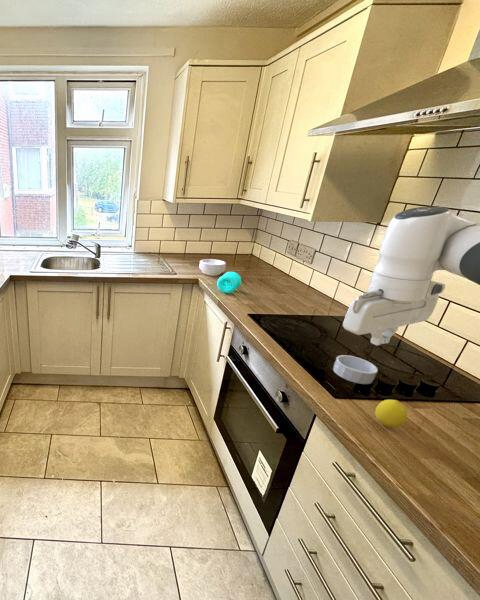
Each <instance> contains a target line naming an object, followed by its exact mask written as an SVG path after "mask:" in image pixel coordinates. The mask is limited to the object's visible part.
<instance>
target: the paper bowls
mask: <svg viewBox="0 0 480 600" xmlns="http://www.w3.org/2000/svg"><path fill="white" fill-rule="evenodd" d="M226 266H227V262H226V261H224V260H221V259H214V258H204V259H203V258H202V259H201V260H200V261H199V266H198V268H199V270H201V272H202V274H204V275H205V276H212V277H214V276H215V277H217V276H220V275H221V273H223V272H225V271H226Z"/></svg>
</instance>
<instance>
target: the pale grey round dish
mask: <svg viewBox="0 0 480 600" xmlns="http://www.w3.org/2000/svg"><path fill="white" fill-rule="evenodd" d="M332 370H333V372H334V374H336V375H337V376H338V377H340V378H342V379H343V380H345V381H348V382H351V383H354V384H361V385H370V384H372V383H373V381H374V380H375V378H376V377H377V374H378V371H379V370H378V367H377V366H376V365H375V364H373V363H372V362H370V361H368V360H366V359H363V358H361V357H357V356H355V355H354V356H353V355H347V354H341V355H337V356H336V357H335V361H334V363H333V366H332Z"/></svg>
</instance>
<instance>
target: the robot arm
mask: <svg viewBox="0 0 480 600" xmlns="http://www.w3.org/2000/svg"><path fill="white" fill-rule="evenodd" d="M378 256H379V258H378V262H377V264H376V265H375V266H374V268H373V271H372V275H371V278H370V281H369V285H368V288H367V291H365V292H362V293H361V294H360V295H359V296H358V297H357V298H354V299H353V300H352V302H351V303H350V304H349V306H348V309H347V311H346V313H345V316H344V319H343V322H342V327H343V329H344V330H345V331H348V332H350V333H351V334H354V335H357V336H362V335H366V334H367V335H368V334H370V335H371V338H370V343H371V344H372V345H375V346H381V345H385V344H389V343H390V340H391V338H392V337H393V336H394V335H395V334H396V332H397V331H398V329H399V328H400V327H404V326H409V325H413V324H417V323H422V322H426V321H428V320H429V318H430V317H431V316H432V315H433V313H434V310H435V308H436V307H437V304H438V301H439V297H440V294H442V293H444V291H445V288H446V284H445V283H443V282H439V281H435V280H433V276H434V273H436V272H437V271H446V272H448V273H450V274H453V275H456V276H459V277H461V278H464V279H467V280H469V281H470V282H473V283H475V284H476V285H479V286H480V223H478V222H476V221H472V220H468V219H466V218H464V217H461V216H459V215H456V214H455V213H453V212H452V211H451V210H450V209H449V208H448V207H445V206H418V207H413V208H408V209H405V210H402V211H400V212H398V213H396V214H395V215H394V216H393V217H392V219H391V220H390V222H389V223H388V225H387V227H386V230H385V232H384V235H383V238H382V240H381V243H380V247H379V250H378Z"/></svg>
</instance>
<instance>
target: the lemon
mask: <svg viewBox="0 0 480 600" xmlns="http://www.w3.org/2000/svg"><path fill="white" fill-rule="evenodd" d="M374 410H375V411H374V415H375V418H376V420H377V421H378V422H379V423H380V424H382V426H383V427H388V428H398V427H401V426H402V425H403V424H405V423H406V421H407V417H408V410H407V407H406V406H405V405H404V404H403V403H402V402H401V401H399V400H397V399H384V400H382V401H380V402H379V403H378V405H377V406H376V407H375V409H374Z"/></svg>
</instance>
